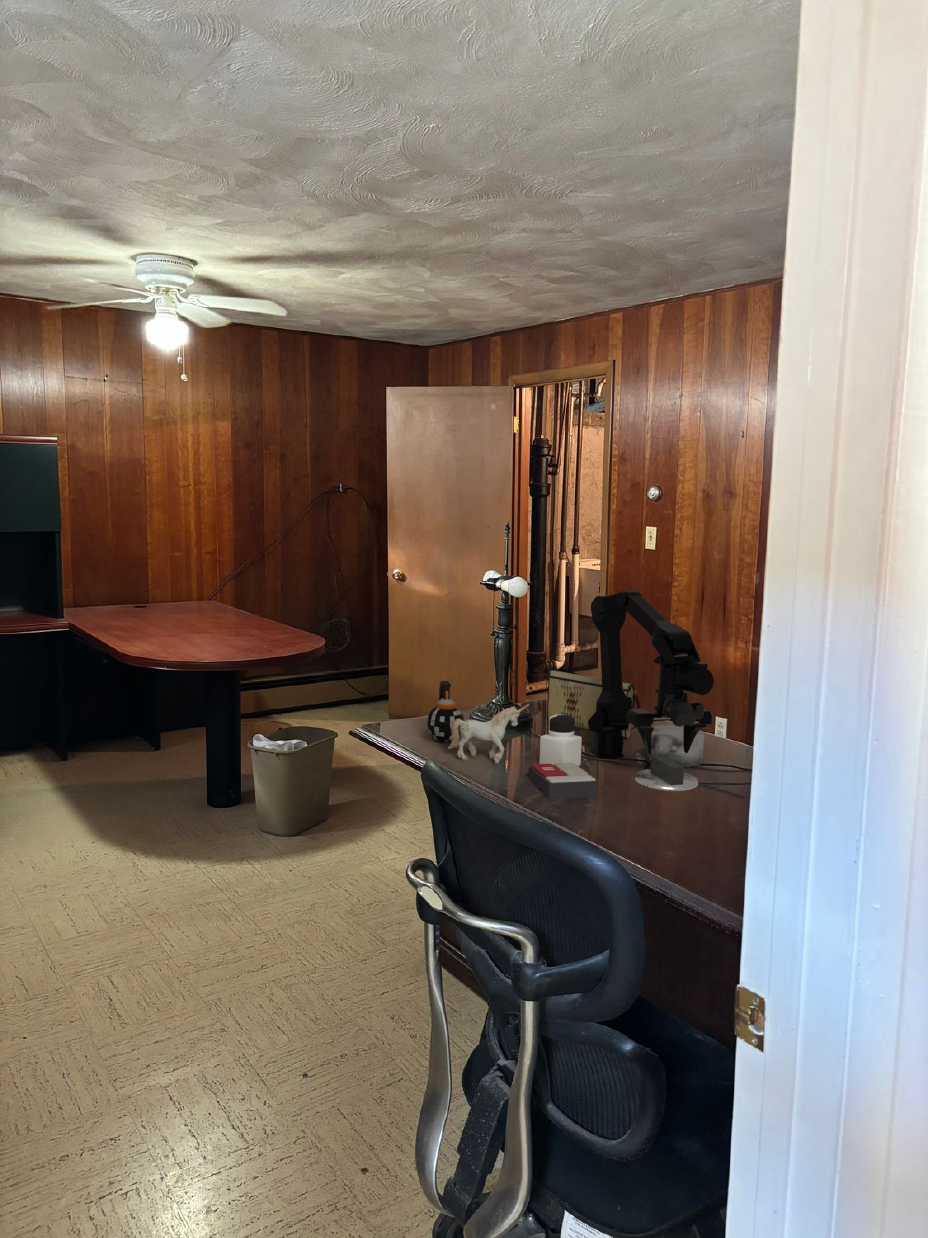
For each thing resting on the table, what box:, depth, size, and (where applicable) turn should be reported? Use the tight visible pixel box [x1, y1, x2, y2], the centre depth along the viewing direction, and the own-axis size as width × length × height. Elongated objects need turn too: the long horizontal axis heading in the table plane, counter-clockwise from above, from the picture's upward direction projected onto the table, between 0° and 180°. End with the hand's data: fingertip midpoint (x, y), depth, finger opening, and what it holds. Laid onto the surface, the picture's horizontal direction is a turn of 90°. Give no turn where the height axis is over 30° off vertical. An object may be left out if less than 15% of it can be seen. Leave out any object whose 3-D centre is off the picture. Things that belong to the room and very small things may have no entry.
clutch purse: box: [545, 669, 641, 740], centre depth 246 cm, size 30×7×15 cm, turn 49°
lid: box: [634, 754, 699, 792], centre depth 201 cm, size 14×14×5 cm
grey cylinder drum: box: [647, 724, 705, 768], centre depth 218 cm, size 13×13×7 cm
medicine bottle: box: [538, 714, 583, 767], centre depth 210 cm, size 7×7×12 cm
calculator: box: [528, 763, 599, 800], centre depth 195 cm, size 11×4×15 cm
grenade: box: [426, 680, 465, 745], centre depth 230 cm, size 11×10×15 cm
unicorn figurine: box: [447, 703, 530, 765], centre depth 213 cm, size 7×20×13 cm, turn 90°
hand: (667, 753), depth 201 cm, fingers open, 9 cm apart
